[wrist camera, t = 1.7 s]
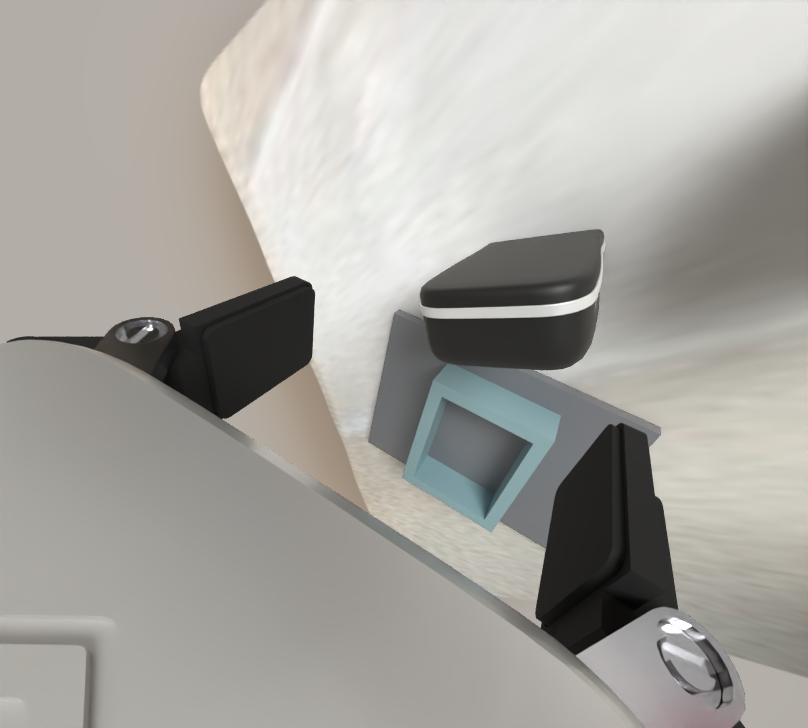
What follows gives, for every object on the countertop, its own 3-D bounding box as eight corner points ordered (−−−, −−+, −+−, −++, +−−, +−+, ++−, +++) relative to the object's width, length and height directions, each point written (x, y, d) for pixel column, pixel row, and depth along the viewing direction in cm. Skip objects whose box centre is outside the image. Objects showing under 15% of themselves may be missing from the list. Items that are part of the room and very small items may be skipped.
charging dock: (659, 427, 22) (665, 466, 20) (550, 543, 32) (543, 581, 29) (399, 309, 28) (374, 326, 25) (372, 437, 38) (351, 460, 35)
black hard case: (490, 298, 24) (416, 376, 15) (485, 242, 23) (399, 294, 14) (605, 293, 20) (592, 391, 12) (609, 226, 19) (597, 282, 10)
